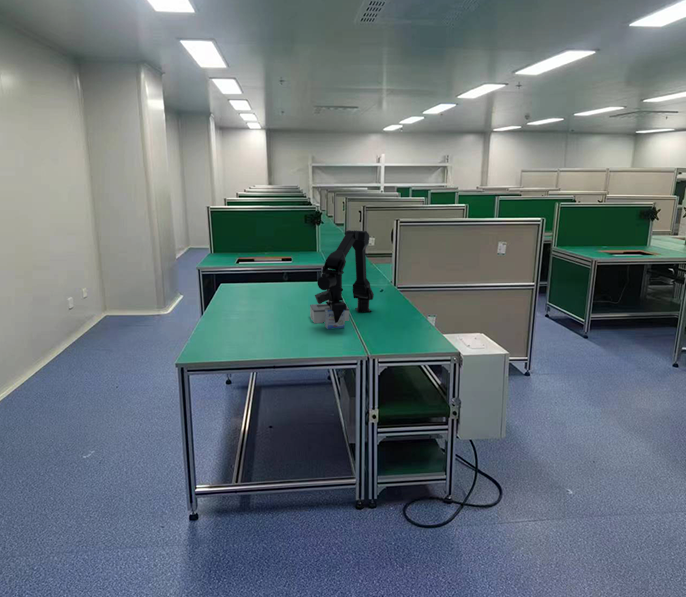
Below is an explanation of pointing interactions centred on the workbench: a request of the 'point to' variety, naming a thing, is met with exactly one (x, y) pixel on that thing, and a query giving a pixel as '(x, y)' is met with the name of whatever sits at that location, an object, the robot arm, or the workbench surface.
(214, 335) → the workbench surface
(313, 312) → the open box
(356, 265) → the robot arm
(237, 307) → the workbench surface
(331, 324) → the medicine box
